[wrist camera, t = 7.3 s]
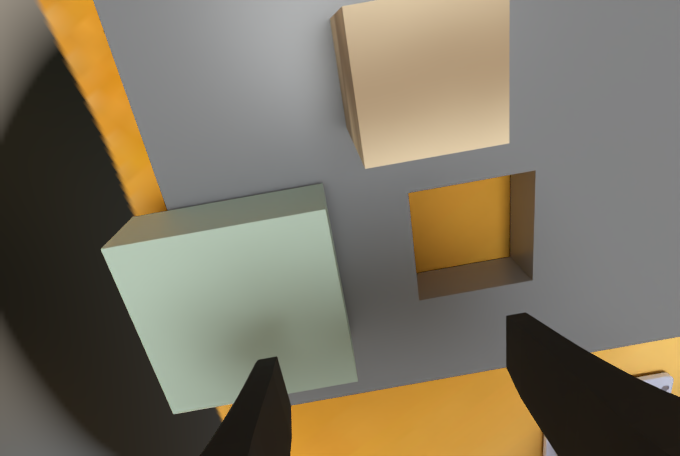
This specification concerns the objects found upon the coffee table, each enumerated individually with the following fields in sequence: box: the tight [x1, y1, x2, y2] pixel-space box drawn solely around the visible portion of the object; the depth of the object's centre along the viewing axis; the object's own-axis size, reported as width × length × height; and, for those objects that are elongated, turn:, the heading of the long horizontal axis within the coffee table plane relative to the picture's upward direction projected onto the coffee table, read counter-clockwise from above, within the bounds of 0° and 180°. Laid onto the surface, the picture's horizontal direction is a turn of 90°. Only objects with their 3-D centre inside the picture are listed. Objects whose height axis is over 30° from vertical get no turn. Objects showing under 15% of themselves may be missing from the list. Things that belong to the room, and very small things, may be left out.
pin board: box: [93, 0, 680, 405], centre depth 20 cm, size 20×24×2 cm
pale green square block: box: [101, 183, 358, 414], centre depth 18 cm, size 8×8×3 cm
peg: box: [330, 0, 510, 169], centre depth 14 cm, size 4×4×6 cm
